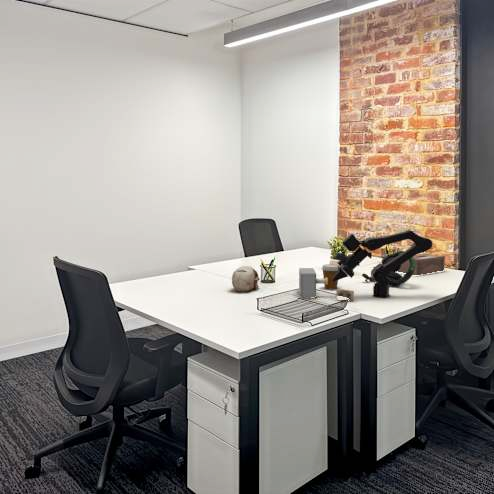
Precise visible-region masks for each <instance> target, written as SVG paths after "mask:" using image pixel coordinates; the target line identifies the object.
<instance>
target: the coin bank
mask: <svg viewBox="0 0 494 494" xmlns="http://www.w3.org/2000/svg"><path fill="white" fill-rule="evenodd" d="M260 280H261V279H260V276H259V274H258V271H257V270H256V269H255V268H254V267H252V266H249V265H243V266H240V267H237V268H236V269H235V270H234V271H233V272H232V277H231V284H232V287H233V288H234V290H235V291H236V292H238V293H248V292H251V291H257V290H259V288H260V287H259V285H258V281H260Z"/></svg>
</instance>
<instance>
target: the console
mask: <svg viewBox="0 0 494 494" xmlns="http://www.w3.org/2000/svg"><path fill="white" fill-rule="evenodd" d="M298 271H299V272H298V276H299V277H298V281H299V282H298V289H300V292H299V295H301V296H300V298H301V299H312V298H311V297H315V296H316V297H317V284H316V279H317V272H316V271H315V269H314V267H300V268H299V270H298Z"/></svg>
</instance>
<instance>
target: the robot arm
mask: <svg viewBox="0 0 494 494" xmlns="http://www.w3.org/2000/svg"><path fill="white" fill-rule="evenodd" d="M406 240H410V241H411V242H413V243H412V245H411V246H410V247H409V248H407V249H406V250H403V251H404V252H403V253H401V254H400V255H398V256H397V257H395V258H394V259H392V260H391V261H389V262H388V263H386V264H384V265H382V262H380V263H378V264H376V266H373V267H372V269H371V271H370V277H372V278H373V279H374V280H375V281H374V282H375V283H374V284H373V287H372V288H373V289H372V290H373V291H372V292H373V295H372V297H378V298H383V299H385V298H388V297H390V296H391V294H390V285H389V283H390V281H389V280H388V279H387V278H386V277H387V276H388V275H389V274H390V272H391V271H392V270H394V269H395V268H397V267H398V266H400V265H401V264H403V263H404V262H406V261H407V260H409V259H410V258H412V257H413V256H415V255H418V254H423V253H424V252H427V251H429V250H431V249H432V248H433V241H432V239H430V238H428V237H425V236H420V235H419V234H417V233H416V232H414V231H413V230H410V229H407V230H404V231H400V232H397V233H393V234H390V235H389V234H388V235H384V236H375V237H368V238H366V239H364V240H359V239H358V238H356V237H355V235H354V233H353V234H352V233H351V234H350V235H348V236H347V237H345V238H344V239H343V240H342V242H341V244H342V245H343V246H344V247H345V248H346V249H347V250H348V252H352V254H349V255H346V254H345V253H343V252H338V251H336V253H335V255H334V260H337V263H336V265H339V266H338V271H337V273H336V274H335V276H334V277H333V279H332V280H333V281H337V280H338V281H339V280H342V279H344V278H348V277H349V278H351V279H352V278H353V277H354V276H355V272H354V269H356V268H357V267H359V266H360V264H361V262H363V261H364V260H365V259H366V258H367V257H368V258H369V259H372V254H373V253H372V252H373V251H377V250H379V249H380V248H382V247H384V246H387V245H390V244H394V243H399V242H402V241H406ZM370 251H371V252H370Z"/></svg>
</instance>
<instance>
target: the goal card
mask: <svg viewBox="0 0 494 494" xmlns="http://www.w3.org/2000/svg"><path fill="white" fill-rule="evenodd" d="M335 290H336V291H335V292H336V293H335V294H336V295H335V297H336V296H343V297H347V298H350V300H349V301H348V302H350V303H351V302H352V303H353V302H354V301H355V300H354V297H355V291H354V290H348V289H340V288H339V289H338V288H337V289H335Z"/></svg>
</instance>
